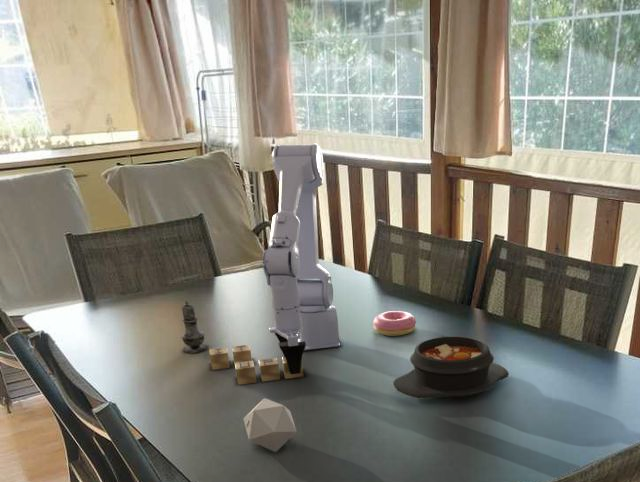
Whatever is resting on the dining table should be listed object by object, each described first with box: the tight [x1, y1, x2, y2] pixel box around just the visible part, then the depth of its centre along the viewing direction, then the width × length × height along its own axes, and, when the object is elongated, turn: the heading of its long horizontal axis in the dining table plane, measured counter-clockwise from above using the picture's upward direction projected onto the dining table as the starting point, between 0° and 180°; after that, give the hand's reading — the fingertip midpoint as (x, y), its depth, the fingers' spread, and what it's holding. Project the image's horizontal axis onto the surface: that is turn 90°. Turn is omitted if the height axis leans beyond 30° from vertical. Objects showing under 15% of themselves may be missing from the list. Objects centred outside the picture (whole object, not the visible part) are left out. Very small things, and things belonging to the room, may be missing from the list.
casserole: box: [392, 335, 510, 399], centre depth 142 cm, size 25×19×8 cm
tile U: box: [234, 360, 258, 386], centre depth 151 cm, size 4×4×4 cm
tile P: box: [258, 357, 281, 383], centre depth 152 cm, size 4×4×4 cm
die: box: [243, 397, 297, 453], centre depth 123 cm, size 8×9×10 cm
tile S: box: [281, 356, 304, 380], centre depth 153 cm, size 4×4×4 cm
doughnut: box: [372, 310, 417, 337], centre depth 175 cm, size 11×11×4 cm
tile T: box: [231, 344, 253, 364], centre depth 160 cm, size 4×4×4 cm
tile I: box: [208, 346, 231, 371], centre depth 159 cm, size 4×4×4 cm
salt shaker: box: [180, 300, 207, 354], centre depth 168 cm, size 6×6×12 cm
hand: (292, 367), depth 153 cm, fingers open, 7 cm apart
